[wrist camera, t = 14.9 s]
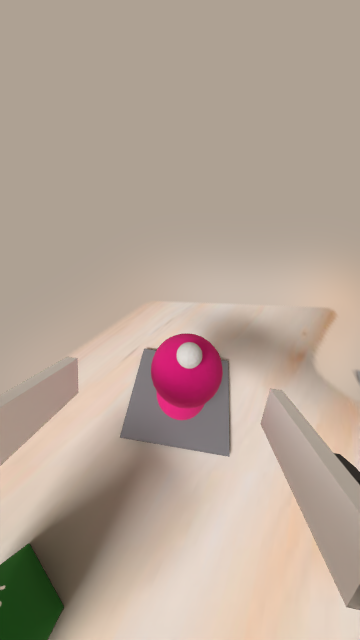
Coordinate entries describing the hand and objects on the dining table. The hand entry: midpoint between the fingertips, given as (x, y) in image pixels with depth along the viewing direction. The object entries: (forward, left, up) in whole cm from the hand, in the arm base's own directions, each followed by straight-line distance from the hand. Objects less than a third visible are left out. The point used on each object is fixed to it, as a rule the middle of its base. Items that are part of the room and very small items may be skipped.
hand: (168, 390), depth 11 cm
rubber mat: (-1, -2, -19) cm, 19 cm away
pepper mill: (-1, -2, -18) cm, 18 cm away
